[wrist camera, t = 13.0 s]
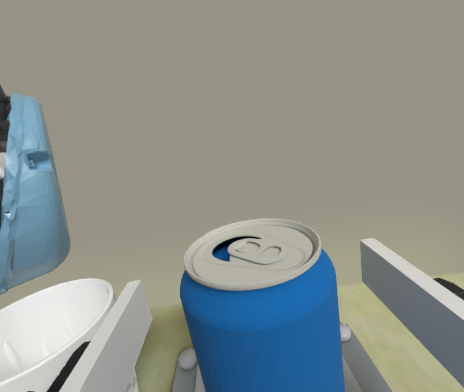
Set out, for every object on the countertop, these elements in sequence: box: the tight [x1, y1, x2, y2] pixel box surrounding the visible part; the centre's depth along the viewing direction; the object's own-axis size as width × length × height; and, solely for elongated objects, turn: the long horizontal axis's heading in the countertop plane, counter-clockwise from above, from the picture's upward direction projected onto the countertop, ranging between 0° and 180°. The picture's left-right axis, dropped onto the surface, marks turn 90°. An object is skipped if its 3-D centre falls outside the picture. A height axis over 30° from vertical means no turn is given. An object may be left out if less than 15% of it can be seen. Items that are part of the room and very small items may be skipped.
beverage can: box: [180, 218, 345, 392], centre depth 12 cm, size 6×6×12 cm
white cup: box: [0, 278, 139, 392], centre depth 14 cm, size 8×8×10 cm
